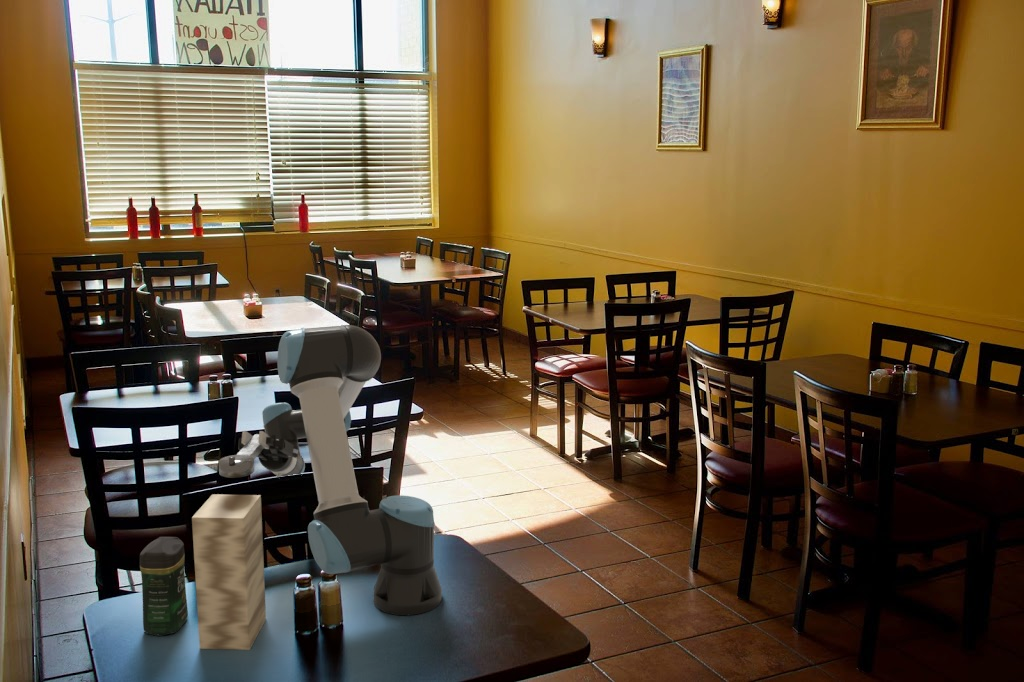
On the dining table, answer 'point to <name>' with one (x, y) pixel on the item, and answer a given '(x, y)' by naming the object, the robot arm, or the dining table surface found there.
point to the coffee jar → (163, 586)
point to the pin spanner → (241, 460)
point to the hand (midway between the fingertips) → (252, 437)
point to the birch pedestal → (229, 571)
